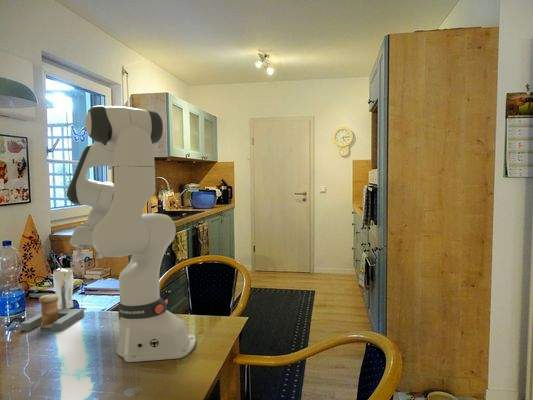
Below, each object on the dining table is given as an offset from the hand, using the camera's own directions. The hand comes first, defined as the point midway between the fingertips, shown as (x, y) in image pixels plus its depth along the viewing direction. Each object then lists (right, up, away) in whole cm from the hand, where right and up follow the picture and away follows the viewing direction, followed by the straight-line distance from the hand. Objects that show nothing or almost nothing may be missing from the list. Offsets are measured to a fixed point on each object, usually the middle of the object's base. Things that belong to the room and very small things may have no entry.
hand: (88, 258), depth 144 cm
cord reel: (-9, -22, -9) cm, 25 cm away
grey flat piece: (-9, -22, -7) cm, 24 cm away
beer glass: (-14, -21, +9) cm, 27 cm away
